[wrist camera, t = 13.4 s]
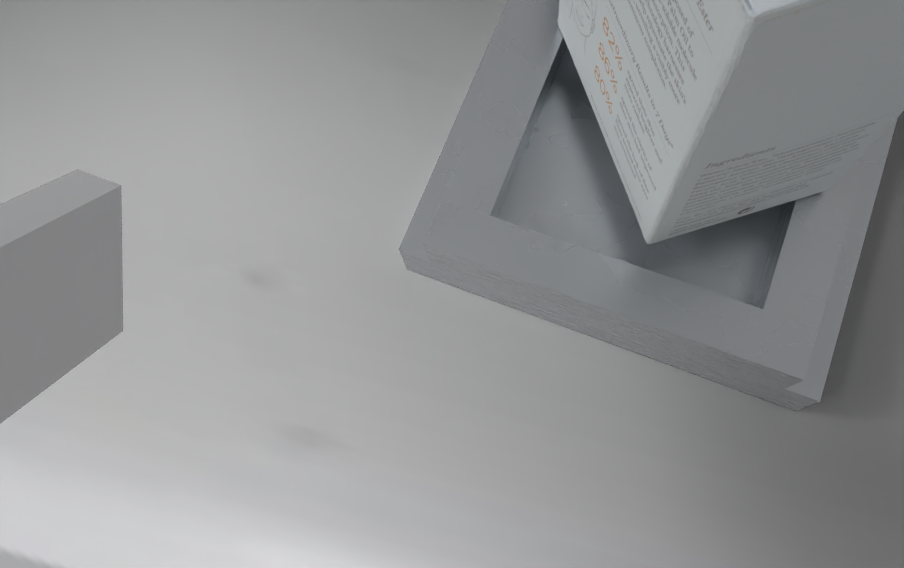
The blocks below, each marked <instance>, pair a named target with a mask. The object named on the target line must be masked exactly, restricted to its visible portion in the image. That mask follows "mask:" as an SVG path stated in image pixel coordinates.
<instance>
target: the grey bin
mask: <svg viewBox="0 0 904 568" xmlns="http://www.w3.org/2000/svg"><path fill="white" fill-rule="evenodd" d="M558 15H559V0H508V2H507V4H506V6H505V9H504V11H503V13H502V16H501V18H500V20H499V22H498V25H497V27H496V29H495V31H494V34H493V36H492V38H491V41H490V43H489V45H488V47H487V50H486V52H485V54H484V57H483V59H482V61H481V63H480V66H479V68H478V70H477V72H476V75H475V77H474V79H473V82H472V84H471V86H470V88H469V91H468V93H467V95H466V98H465V100H464V102H463V104H462V107H461V109H460V111H459V114H458V116H457V118H456V120H455V123H454V125H453V127H452V129H451V132H450V134H449V136H448V139H447V141H446V143H445V145H444V148H443V150H442V152H441V155H440V157H439V159H438V161H437V164H436V166H435V168H434V170H433V173H432V175H431V177H430V180H429V182H428V184H427V186H426V189H425V191H424V193H423V196H422V198H421V200H420V202H419V205H418V207H417V209H416V211H415V214H414V216H413V218H412V221H411V223H410V225H409V227H408V230H407V232H406V234H405V237H404V239H403V241H402V243H401V246H400V248H399V251H400V254H401V256H402V258H403V261H404V263H405V265H406V268H407V269H408V270H411V271H414V272H416V273H419V274H422V275H425V276H427V277H430V278H433V279H435V280H438V281H441V282H444V283H446V284H449V285H452V286H455V287H457V288H460V289H463V290H466V291H468V292H471V293H474V294H477V295H479V296H482V297H485V298H488V299H490V300H493V301H496V302H499V303H501V304H504V305H507V306H509V307H512V308H515V309H518V310H520V311H523V312H526V313H529V314H531V315H534V316H537V317H540V318H542V319H545V320H548V321H551V322H553V323H556V324H559V325H562V326H564V327H567V328H570V329H572V330H575V331H578V332H581V333H583V334H586V335H589V336H592V337H594V338H597V339H600V340H603V341H605V342H608V343H611V344H614V345H616V346H619V347H622V348H625V349H627V350H630V351H633V352H636V353H638V354H641V355H644V356H646V357H649V358H652V359H655V360H657V361H660V362H663V363H666V364H668V365H671V366H674V367H677V368H679V369H682V370H685V371H688V372H690V373H693V374H696V375H699V376H701V377H704V378H707V379H709V380H712V381H715V382H718V383H720V384H723V385H726V386H729V387H731V388H734V389H737V390H740V391H742V392H745V393H748V394H751V395H753V396H756V397H759V398H762V399H764V400H767V401H770V402H773V403H775V404H778V405H781V406H783V407H786V408H789V409H792V410H794V411H795V410H798V409H801V408H804V407H806V406H809V405H812V404H815V403H818V402H820V401H821V397H822V393H823V390H824V386H825V382H826V379H827V375H828V371H829V368H830V364H831V360H832V357H833V353H834V349H835V346H836V342H837V338H838V335H839V331H840V327H841V324H842V320H843V316H844V313H845V309H846V305H847V302H848V298H849V294H850V291H851V287H852V283H853V280H854V276H855V272H856V269H857V265H858V261H859V258H860V254H861V251H862V247H863V243H864V240H865V236H866V232H867V229H868V225H869V221H870V218H871V214H872V210H873V207H874V203H875V199H876V196H877V192H878V188H879V185H880V181H881V177H882V174H883V170H884V166H885V163H886V159H887V155H888V152H889V148H890V144H891V141H892V137H893V133H894V130H895V126H896V122H897V119H898V118H897V119H896V120H895V121H894V122H893V123H892V124H891V125H890V126H889V127H888V128H887V129H886V130H885V131H884V132H883V134H882V135H881V136H880V137H879V138H878V139H877V140H876V141H875V142H874V143H873V144H872V145H871V146H870V147H869V149H868V150H867V151H866V152H865V153H864V154H863V155H862V156H861V157H860V158H859V159H858V160H857V161H856V162H855V163H854V164H853V165H852V167H851V168H850V169H849V170H848V171H847V172H846V173H845V174H844V175H843V176H842V177H841V178H840V179H839V180H838V181H837V183H836V184H835V185H834V186H833V187H832V188H831V189H829V190H827V191H823V192H819V193H816V194H813V195H810V196H807V197H803V198H800V199H797V200H794V201H790V202H787V203H784V204H780V205H777V206H774V207H771V208H767V209H764V210H761V211H758V212H754V213H751V214H748V215H745V216H741V217H738V218H735V219H731V220H728V221H725V222H721V223H718V224H715V225H711V226H708V227H705V228H702V229H698V230H695V231H692V232H688V233H685V234H682V235H678V236H675V237H672V238H668V239H665V240H662V241H659V242H656V243H653V244H647V242H646V241H645V239H644V236H643V233H642V230H641V228H640V225H639V223H638V220H637V217H636V215H635V212H634V210H633V207H632V205H631V203H630V200H629V198H628V195H627V192H626V190H625V187H624V185H623V183H622V180H621V178H620V175H619V173H618V171H617V168H616V166H615V163H614V161H613V159H612V156H611V154H610V151H609V148H608V146H607V143H606V141H605V138H604V136H603V133H602V131H601V128H600V126H599V123H598V121H597V118H596V116H595V114H594V111H593V109H592V106H591V104H590V101H589V99H588V96H587V94H586V91H585V89H584V86H583V84H582V81H581V79H580V76H579V74H578V71H577V69H576V67H575V64H574V62H573V59H572V57H571V54H570V52H569V49H568V47H567V44H566V42H565V40H564V37H563V35H562V32H561V30H560V28H559V26H558Z"/></svg>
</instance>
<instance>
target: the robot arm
mask: <svg viewBox="0 0 904 568" xmlns="http://www.w3.org/2000/svg"><path fill="white" fill-rule="evenodd" d="M122 331H123V286H122V207H121V185H119V184H116V183H113V182H111V181H108V180H105V179H102V178H100V177H97V176H94V175H92V174H89V173H86V172H83V171H81V170H75V171H73V172H71V173H69V174H67V175H64V176H62V177H60V178H58V179H55V180H53V181H51V182H49V183H47V184H44V185H42V186H40V187H38V188H36V189H33V190H31V191H29V192H27V193H25V194H22V195H20V196H18V197H16V198H14V199H11V200H9V201H7V202H5V203H2V204H0V423H2V422H3V421H4V420H6V419H7V418H8V417H10V416H11V415H12V414H14V413H15V412H16V411H18V410H19V409H20V408H21V407H23V406H24V405H25V404H27V403H28V402H29V401H31V400H32V399H33V398H35V397H36V396H37V395H39V394H40V393H41V392H43V391H44V390H45V389H47V388H48V387H49V386H51V385H52V384H53V383H55V382H56V381H57V380H59V379H60V378H61V377H63V376H64V375H65V374H66V373H68V372H69V371H70V370H72V369H73V368H74V367H76V366H77V365H78V364H80V363H81V362H82V361H84V360H85V359H86V358H88V357H89V356H90V355H92V354H93V353H94V352H96V351H97V350H98V349H100V348H101V347H102V346H104V345H105V344H106V343H107V342H109V341H110V340H111V339H113V338H114V337H115V336H117V335H118V334H119V333H121V332H122Z"/></svg>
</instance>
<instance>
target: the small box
mask: <svg viewBox="0 0 904 568" xmlns="http://www.w3.org/2000/svg"><path fill="white" fill-rule="evenodd" d="M558 26H559V28H560V30H561V32H562V35H563V37H564V40H565V42H566V44H567V47H568V49H569V52H570V54H571V57H572V59H573V62H574V64H575V67H576V69H577V71H578V74H579V76H580V79H581V81H582V84H583V86H584V89H585V91H586V94H587V96H588V99H589V101H590V104H591V106H592V109H593V111H594V114H595V116H596V118H597V121H598V123H599V126H600V128H601V131H602V133H603V136H604V138H605V141H606V143H607V146H608V148H609V151H610V154H611V156H612V159H613V161H614V163H615V166H616V168H617V171H618V173H619V175H620V178H621V180H622V183H623V185H624V187H625V190H626V192H627V195H628V198H629V200H630V203H631V205H632V207H633V210H634V212H635V215H636V217H637V220H638V223H639V225H640V228H641V230H642V233H643V236H644V239H645V241H646V242H647V244H653V243H656V242H659V241H662V240H665V239H668V238H672V237H675V236H678V235H682V234H685V233H688V232H692V231H695V230H698V229H702V228H705V227H708V226H711V225H715V224H718V223H721V222H725V221H728V220H731V219H735V218H738V217H741V216H745V215H748V214H751V213H754V212H758V211H761V210H764V209H767V208H771V207H774V206H777V205H780V204H784V203H787V202H790V201H794V200H797V199H800V198H803V197H807V196H810V195H813V194H816V193H819V192H823V191H827V190H829V189H831V188H832V187H833V186H834V185H835V184H836V183H837V181H838V180H839V179H840V178H841V177H842V176H843V175H844V174H845V173H846V172H847V171H848V170H849V169H850V168H851V167H852V165H853V164H854V163H855V162H856V161H857V160H858V159H859V158H860V157H861V156H862V155H863V154H864V153H865V152H866V151H867V150H868V149H869V147H870V146H871V145H872V144H873V143H874V142H875V141H876V140H877V139H878V138H879V137H880V136H881V135H882V134H883V132H884V131H885V130H886V129H887V128H888V127H889V126H890V125H891V124H892V123H893V122H894V121H895V120H896V119H897V118H898V117H899V115H900V114H901V113H902V112H903V111H904V0H559V15H558Z"/></svg>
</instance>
